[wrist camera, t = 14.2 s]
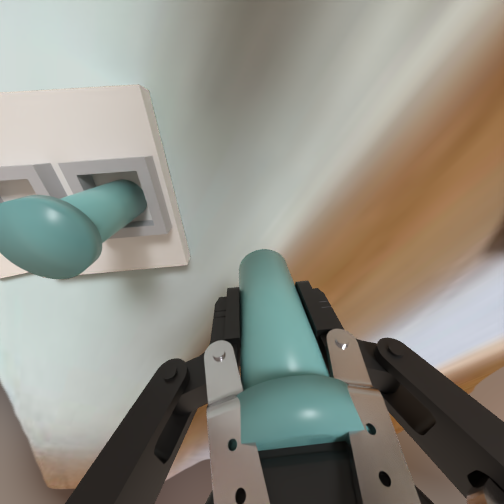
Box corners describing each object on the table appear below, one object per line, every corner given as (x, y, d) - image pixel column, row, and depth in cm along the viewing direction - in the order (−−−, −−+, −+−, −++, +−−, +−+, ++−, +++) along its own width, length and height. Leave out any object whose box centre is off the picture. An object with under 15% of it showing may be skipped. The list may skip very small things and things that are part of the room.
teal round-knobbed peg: (226, 245, 13) (209, 437, 5) (296, 238, 14) (398, 415, 5) (234, 296, 16) (231, 485, 7) (293, 291, 16) (358, 470, 7)
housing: (-56, 102, 16) (-129, 92, 13) (148, 90, 17) (128, 78, 14) (56, 268, 25) (29, 287, 22) (190, 256, 25) (184, 273, 22)
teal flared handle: (144, 170, 18) (62, 196, 10) (159, 219, 21) (104, 275, 12) (91, 174, 18) (-40, 204, 10) (113, 222, 21) (23, 282, 12)
